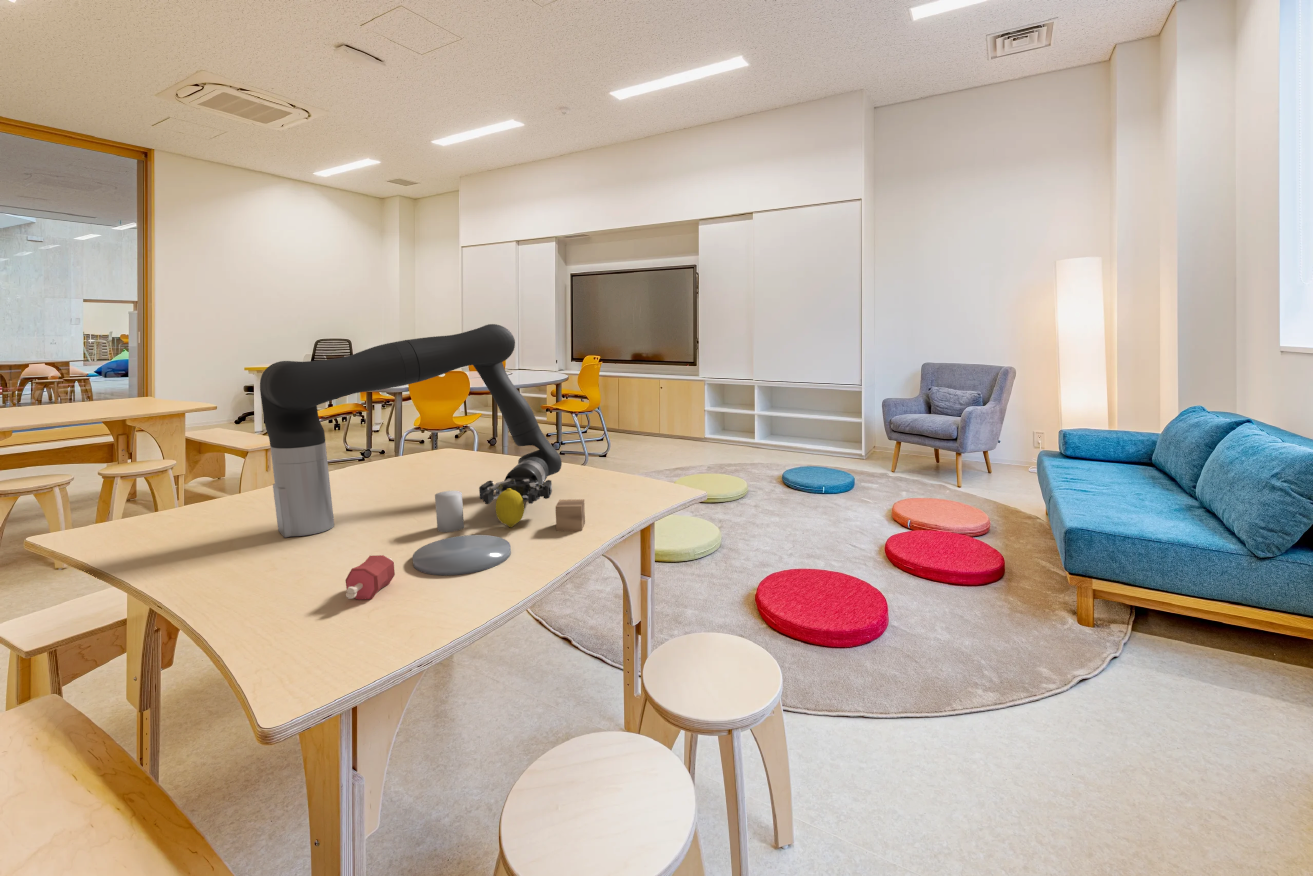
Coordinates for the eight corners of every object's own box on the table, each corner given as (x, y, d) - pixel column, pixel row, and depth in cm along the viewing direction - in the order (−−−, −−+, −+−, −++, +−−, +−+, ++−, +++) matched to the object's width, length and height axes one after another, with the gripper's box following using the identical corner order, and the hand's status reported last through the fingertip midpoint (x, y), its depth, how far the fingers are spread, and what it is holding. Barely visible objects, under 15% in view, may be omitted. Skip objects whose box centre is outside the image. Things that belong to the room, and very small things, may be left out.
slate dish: (435, 583, 90) (435, 576, 90) (399, 556, 102) (398, 549, 102) (528, 557, 101) (527, 550, 101) (485, 535, 113) (484, 529, 113)
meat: (371, 571, 94) (377, 543, 93) (401, 579, 94) (407, 551, 93) (328, 605, 82) (335, 573, 81) (363, 614, 82) (369, 582, 81)
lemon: (528, 523, 120) (527, 485, 119) (519, 532, 114) (517, 492, 113) (502, 522, 120) (500, 484, 119) (492, 531, 115) (490, 491, 114)
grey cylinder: (443, 533, 114) (441, 498, 113) (433, 528, 118) (430, 493, 116) (468, 528, 117) (466, 494, 116) (457, 522, 121) (455, 489, 120)
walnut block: (560, 523, 120) (559, 499, 119) (585, 523, 120) (584, 499, 119) (556, 531, 115) (555, 506, 114) (582, 531, 115) (581, 506, 114)
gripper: (493, 463, 131) (470, 480, 115) (557, 462, 131) (543, 480, 115) (494, 496, 132) (473, 517, 116) (558, 495, 132) (545, 517, 116)
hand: (508, 499), depth 116 cm, fingers open, 8 cm apart
